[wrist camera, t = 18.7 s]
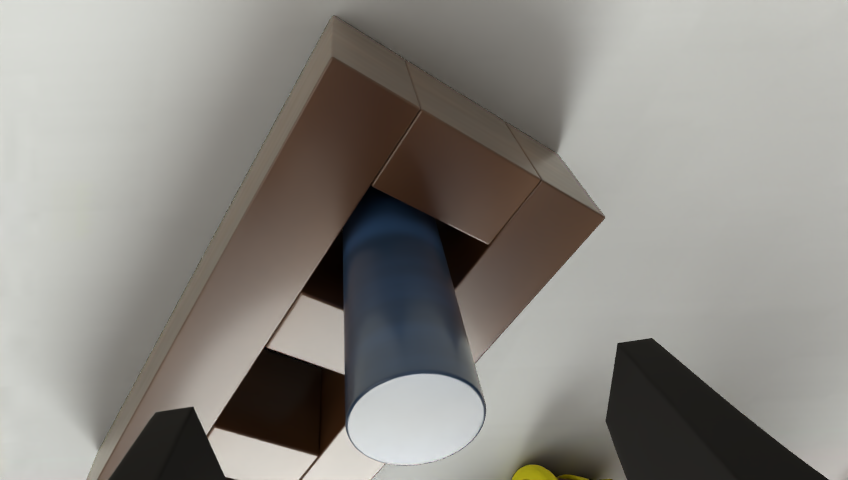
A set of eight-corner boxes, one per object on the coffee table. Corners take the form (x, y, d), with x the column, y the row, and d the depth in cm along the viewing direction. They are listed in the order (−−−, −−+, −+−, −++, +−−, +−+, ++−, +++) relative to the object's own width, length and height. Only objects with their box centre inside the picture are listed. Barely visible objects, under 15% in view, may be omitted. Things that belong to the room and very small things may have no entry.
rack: (558, 154, 16) (606, 217, 13) (282, 497, 23) (275, 587, 21) (332, 14, 14) (331, 55, 11) (97, 452, 21) (57, 549, 18)
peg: (422, 230, 17) (475, 463, 11) (341, 229, 17) (343, 470, 10) (430, 157, 16) (497, 369, 9) (342, 153, 16) (346, 373, 9)
